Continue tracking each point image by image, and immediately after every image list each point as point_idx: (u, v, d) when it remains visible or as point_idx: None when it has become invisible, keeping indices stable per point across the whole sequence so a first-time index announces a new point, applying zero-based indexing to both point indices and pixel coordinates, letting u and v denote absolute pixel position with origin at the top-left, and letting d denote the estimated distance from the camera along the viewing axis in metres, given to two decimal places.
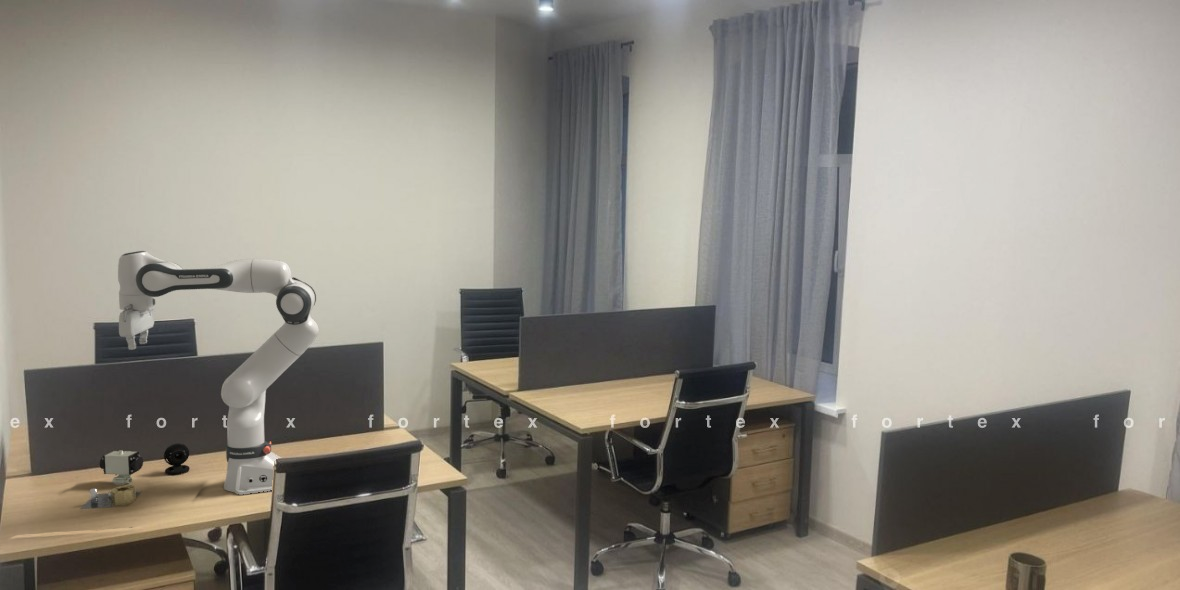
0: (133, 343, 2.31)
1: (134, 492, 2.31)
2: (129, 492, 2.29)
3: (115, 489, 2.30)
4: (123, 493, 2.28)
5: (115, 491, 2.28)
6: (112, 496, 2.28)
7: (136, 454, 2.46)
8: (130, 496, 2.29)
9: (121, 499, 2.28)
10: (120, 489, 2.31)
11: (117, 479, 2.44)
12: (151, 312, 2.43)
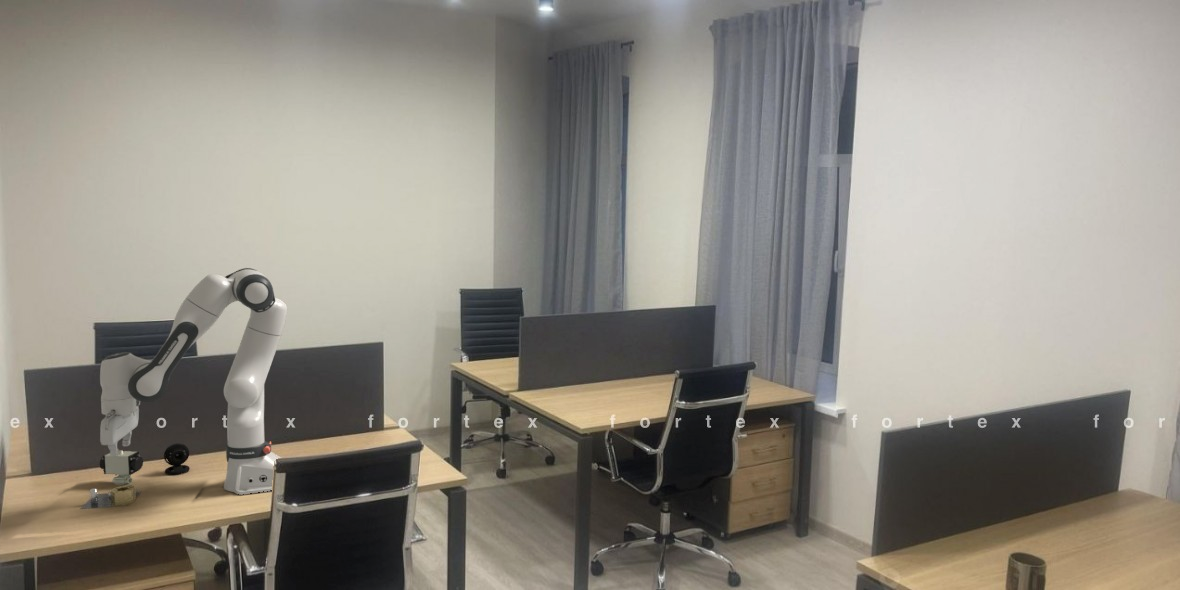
0: (115, 450, 2.23)
1: (134, 492, 2.31)
2: (129, 492, 2.29)
3: (115, 489, 2.30)
4: (123, 493, 2.28)
5: (115, 491, 2.28)
6: (112, 496, 2.28)
7: (136, 454, 2.46)
8: (130, 496, 2.29)
9: (121, 499, 2.28)
10: (120, 489, 2.31)
11: (117, 479, 2.44)
12: (135, 412, 2.35)
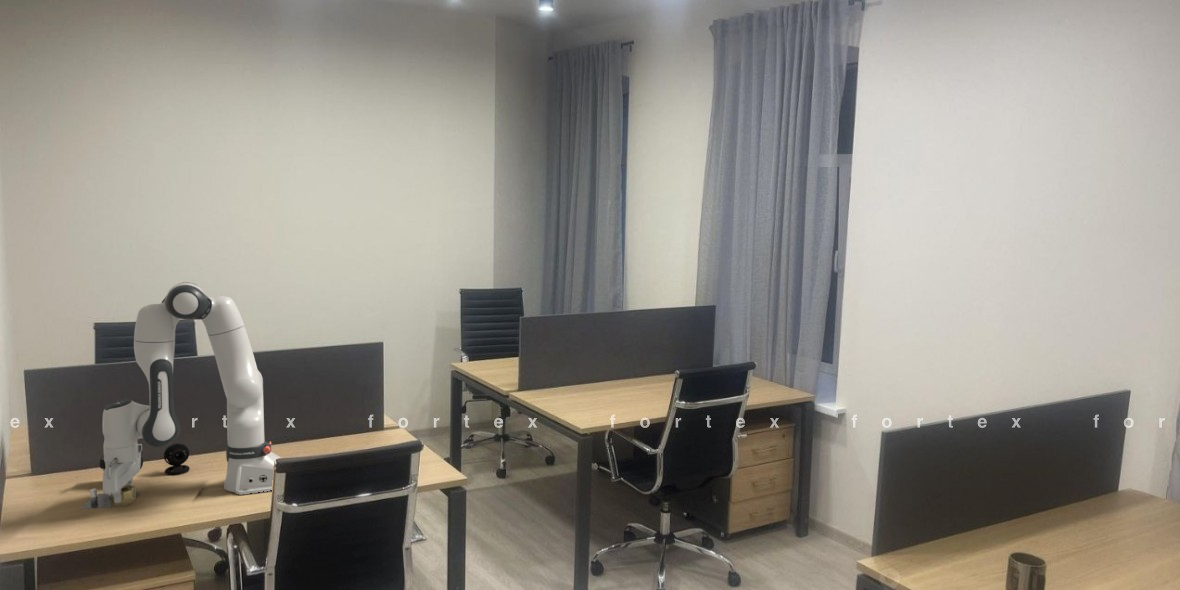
0: (119, 496, 2.26)
1: (134, 492, 2.31)
2: (129, 492, 2.29)
3: None
4: (123, 493, 2.28)
5: None
6: (112, 496, 2.28)
7: None
8: (130, 496, 2.29)
9: None
10: None
11: None
12: (137, 458, 2.37)
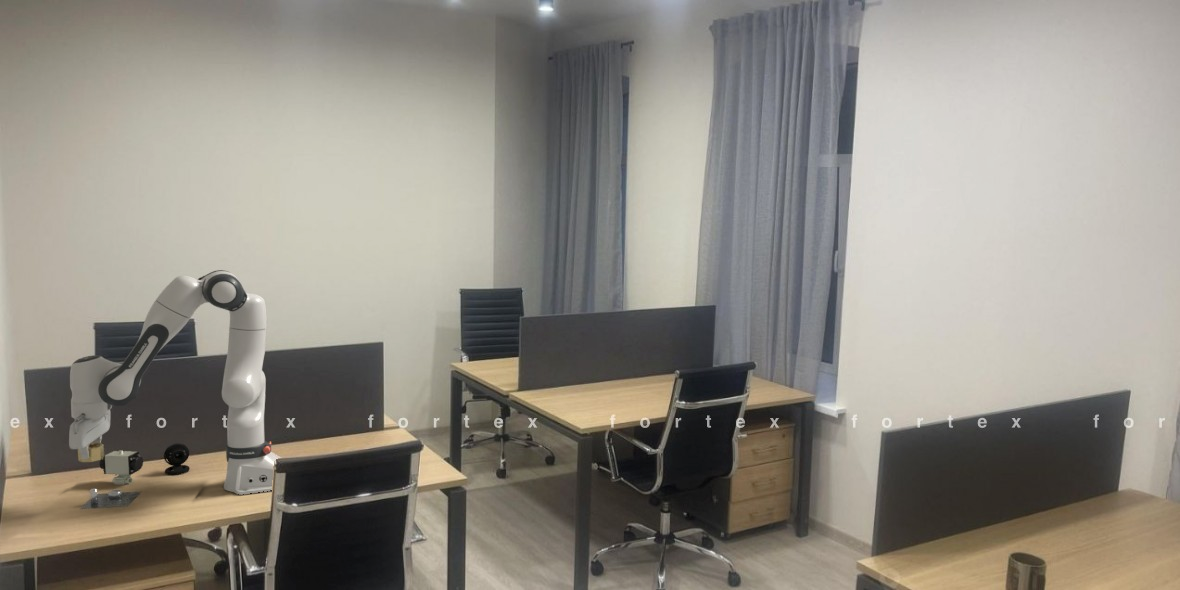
0: (86, 453, 2.22)
1: (102, 449, 2.28)
2: (97, 449, 2.25)
3: None
4: (90, 450, 2.24)
5: None
6: (79, 453, 2.24)
7: (136, 454, 2.46)
8: (98, 453, 2.26)
9: None
10: None
11: (117, 479, 2.44)
12: (106, 416, 2.34)
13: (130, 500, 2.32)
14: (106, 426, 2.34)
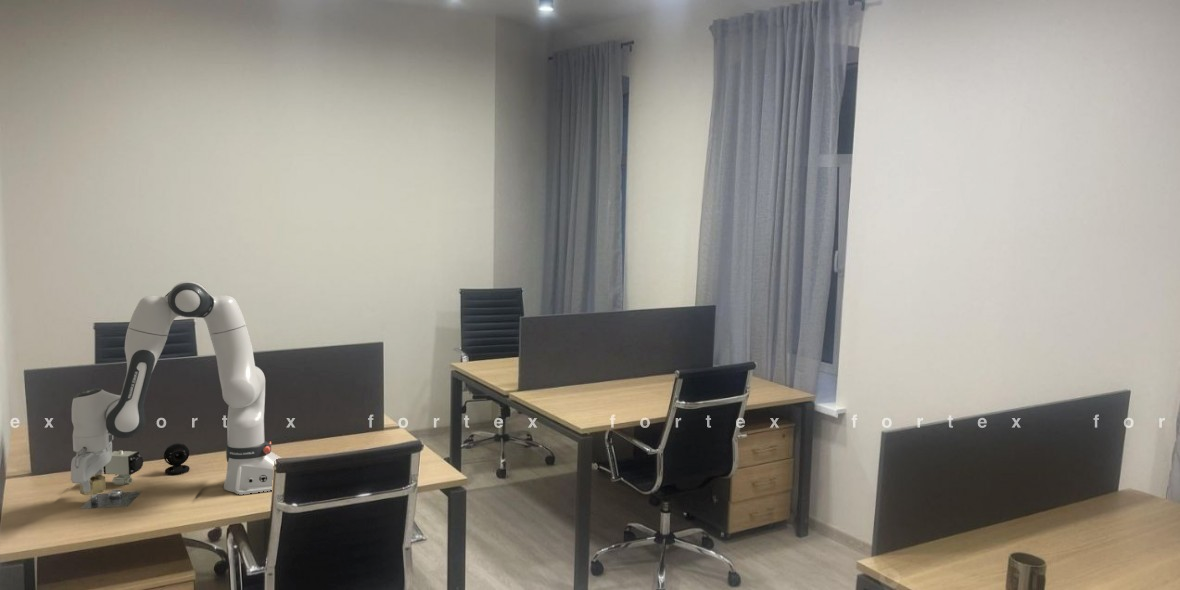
0: (88, 486, 2.24)
1: (104, 482, 2.29)
2: (98, 482, 2.27)
3: None
4: (92, 483, 2.25)
5: None
6: (81, 485, 2.26)
7: (136, 454, 2.46)
8: (99, 486, 2.27)
9: None
10: (90, 479, 2.29)
11: (117, 479, 2.44)
12: (108, 447, 2.35)
13: (130, 500, 2.32)
14: (108, 458, 2.35)
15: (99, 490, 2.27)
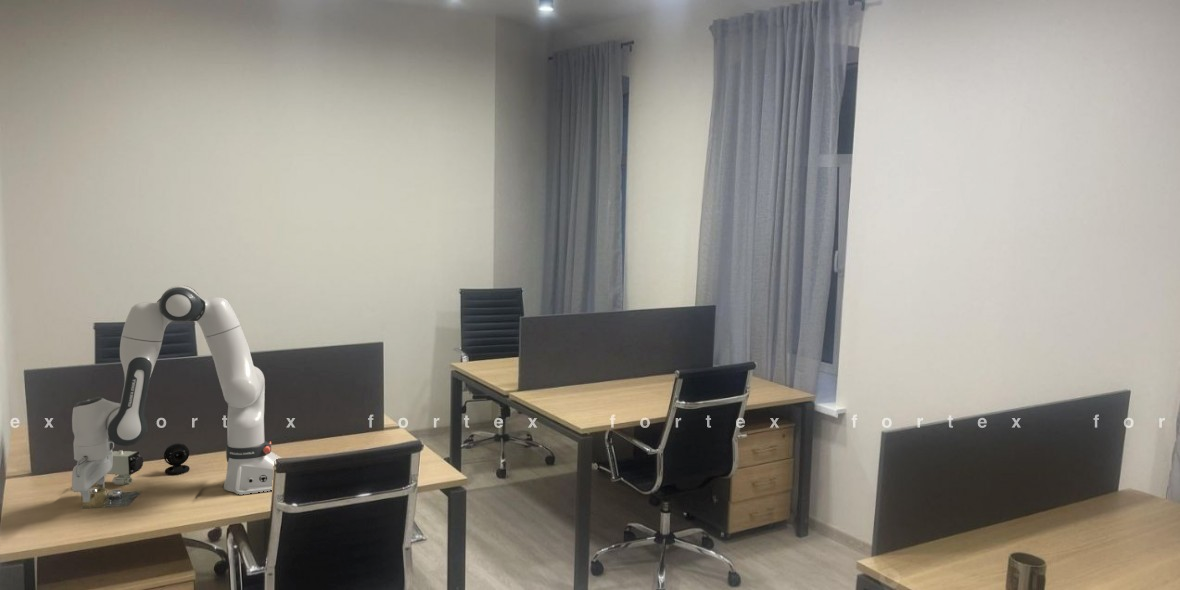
0: (88, 496, 2.23)
1: (105, 494, 2.30)
2: (100, 494, 2.27)
3: None
4: (94, 495, 2.26)
5: None
6: None
7: (136, 454, 2.46)
8: (101, 498, 2.28)
9: (92, 501, 2.26)
10: None
11: (117, 479, 2.44)
12: (109, 456, 2.35)
13: (130, 500, 2.32)
14: (109, 466, 2.35)
15: (101, 502, 2.28)
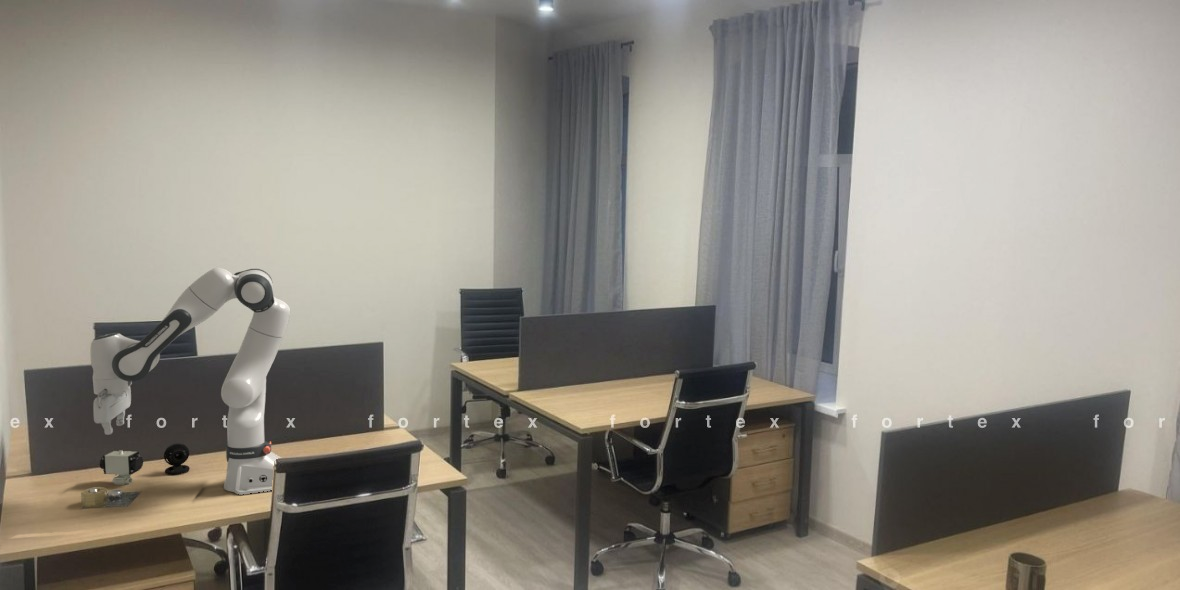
0: (109, 428, 2.28)
1: (105, 494, 2.30)
2: (100, 494, 2.27)
3: (86, 491, 2.28)
4: (94, 495, 2.26)
5: (86, 493, 2.26)
6: (83, 498, 2.26)
7: (136, 454, 2.46)
8: (101, 498, 2.28)
9: (92, 501, 2.26)
10: None
11: (117, 479, 2.44)
12: (127, 392, 2.40)
13: (130, 500, 2.32)
14: (127, 402, 2.40)
15: (101, 502, 2.28)
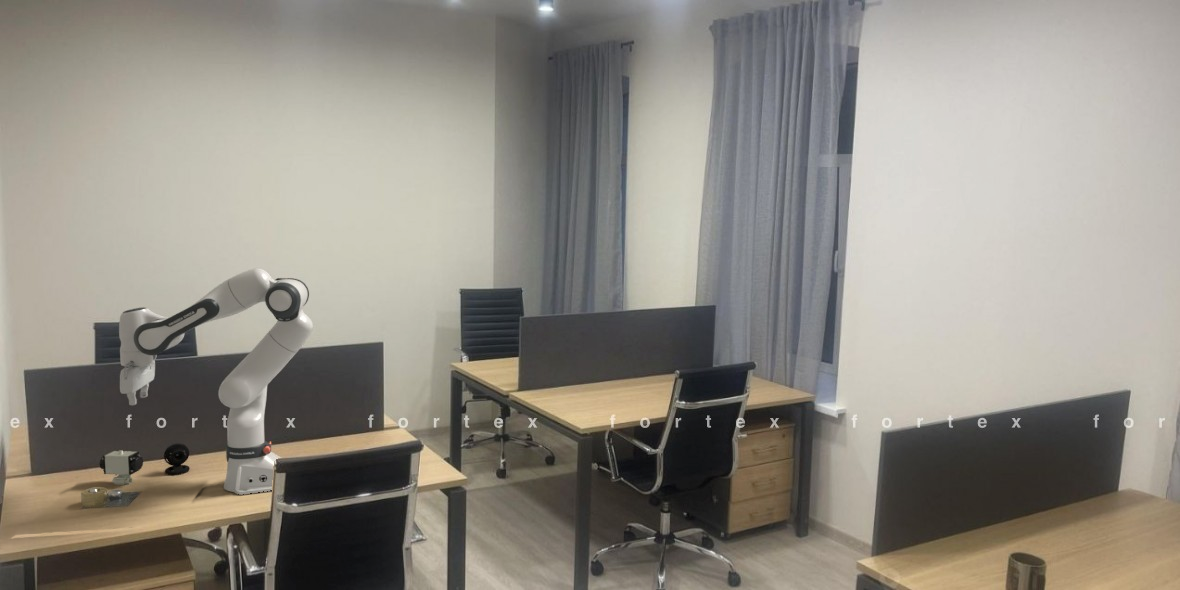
0: (134, 399, 2.35)
1: (105, 494, 2.30)
2: (100, 494, 2.27)
3: (86, 491, 2.28)
4: (94, 495, 2.26)
5: (86, 493, 2.26)
6: (83, 498, 2.26)
7: (136, 454, 2.46)
8: (101, 498, 2.28)
9: (92, 501, 2.26)
10: None
11: (117, 479, 2.44)
12: (152, 366, 2.47)
13: (130, 500, 2.32)
14: (151, 375, 2.47)
15: (101, 502, 2.28)
